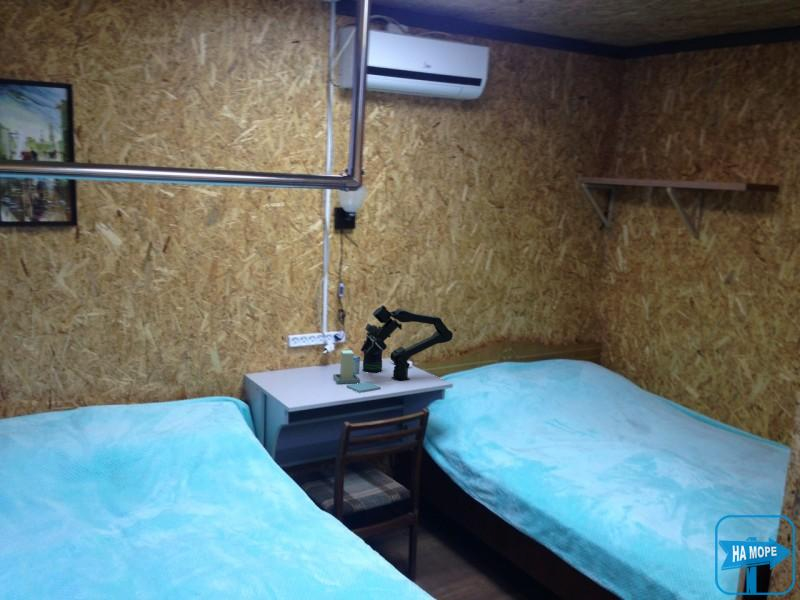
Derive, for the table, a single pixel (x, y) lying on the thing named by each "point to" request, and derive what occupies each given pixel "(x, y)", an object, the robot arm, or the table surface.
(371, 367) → the storage jar
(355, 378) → the charcoal tray
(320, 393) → the table surface
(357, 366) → the medicine box
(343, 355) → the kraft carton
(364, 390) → the slate board
